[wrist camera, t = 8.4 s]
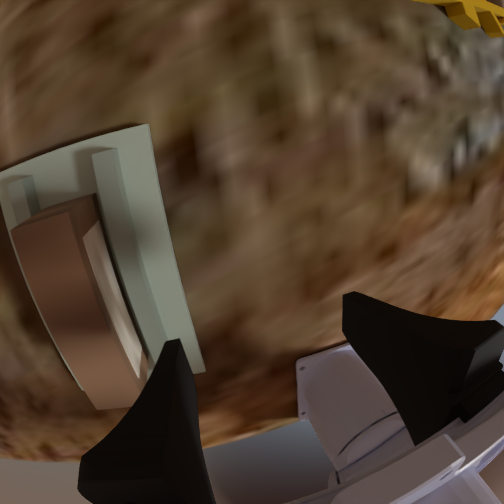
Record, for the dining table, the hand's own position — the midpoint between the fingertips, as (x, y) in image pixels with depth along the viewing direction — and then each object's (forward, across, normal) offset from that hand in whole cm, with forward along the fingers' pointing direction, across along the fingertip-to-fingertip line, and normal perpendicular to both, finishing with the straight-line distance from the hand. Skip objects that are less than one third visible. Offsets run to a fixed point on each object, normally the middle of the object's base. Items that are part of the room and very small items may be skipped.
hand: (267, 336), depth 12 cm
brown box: (+8, +9, -1) cm, 12 cm away
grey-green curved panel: (+9, +9, -1) cm, 13 cm away
